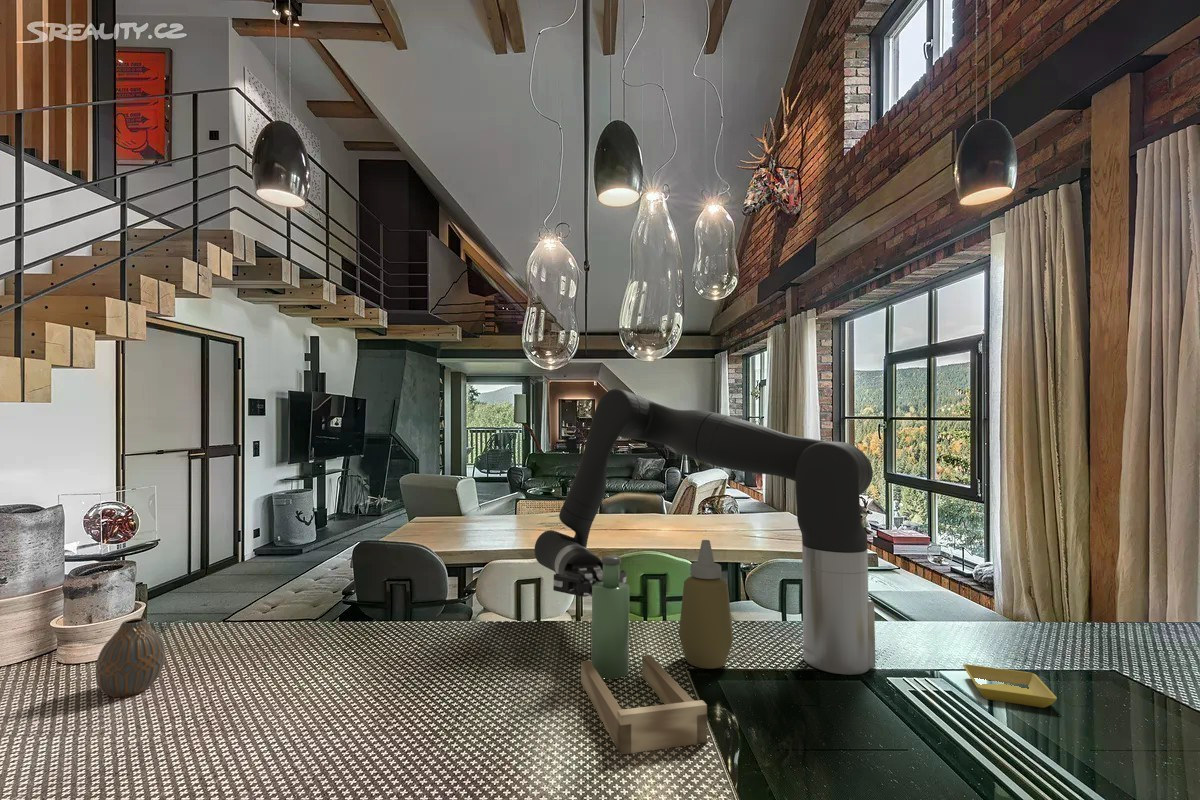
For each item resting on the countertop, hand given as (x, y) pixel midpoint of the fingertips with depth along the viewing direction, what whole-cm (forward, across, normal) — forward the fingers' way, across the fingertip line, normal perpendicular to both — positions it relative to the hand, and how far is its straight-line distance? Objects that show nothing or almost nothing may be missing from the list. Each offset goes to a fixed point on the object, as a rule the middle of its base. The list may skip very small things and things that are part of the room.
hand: (605, 594), depth 85 cm
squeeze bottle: (+3, +15, +10) cm, 18 cm away
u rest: (+15, 0, +10) cm, 18 cm away
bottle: (+3, 0, +10) cm, 10 cm away
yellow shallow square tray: (+22, +50, +11) cm, 56 cm away
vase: (-6, -62, +10) cm, 63 cm away
